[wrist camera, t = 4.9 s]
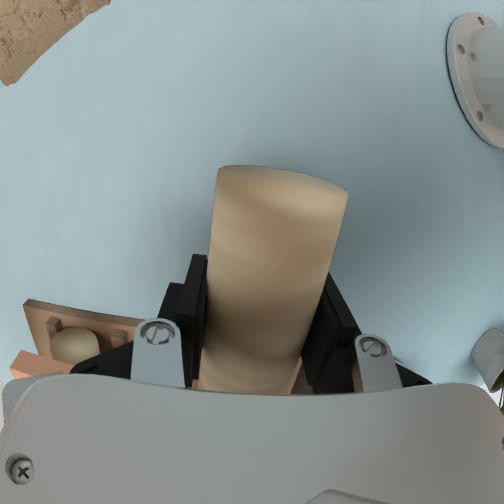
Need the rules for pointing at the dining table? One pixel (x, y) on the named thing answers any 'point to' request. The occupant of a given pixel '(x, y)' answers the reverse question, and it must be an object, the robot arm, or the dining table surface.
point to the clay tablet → (36, 30)
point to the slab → (36, 365)
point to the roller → (265, 274)
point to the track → (106, 333)
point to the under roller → (74, 345)
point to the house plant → (491, 360)
